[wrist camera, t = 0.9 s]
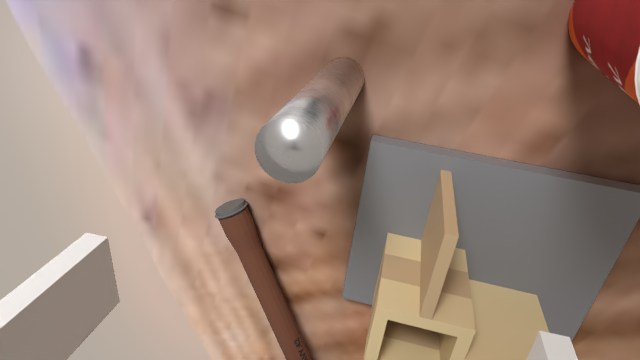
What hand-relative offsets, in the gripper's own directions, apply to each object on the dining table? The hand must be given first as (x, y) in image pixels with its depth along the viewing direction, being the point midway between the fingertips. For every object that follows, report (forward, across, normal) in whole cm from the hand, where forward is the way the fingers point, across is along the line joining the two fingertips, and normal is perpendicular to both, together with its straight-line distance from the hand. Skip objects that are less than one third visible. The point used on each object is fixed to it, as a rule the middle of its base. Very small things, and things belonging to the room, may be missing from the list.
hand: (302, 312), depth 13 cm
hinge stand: (+23, +10, -11) cm, 27 cm away
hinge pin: (+23, -3, +1) cm, 23 cm away
